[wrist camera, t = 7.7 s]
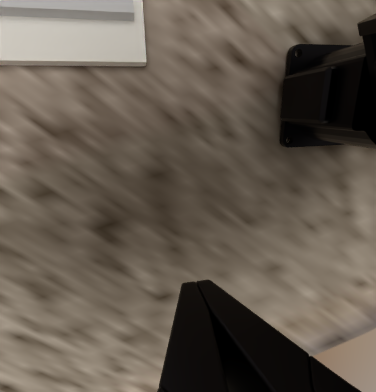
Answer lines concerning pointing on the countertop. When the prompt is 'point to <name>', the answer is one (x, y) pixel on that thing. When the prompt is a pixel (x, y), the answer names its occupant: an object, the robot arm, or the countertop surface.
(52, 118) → the countertop surface
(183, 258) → the countertop surface
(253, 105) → the countertop surface
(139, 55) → the gauge base
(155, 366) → the countertop surface
